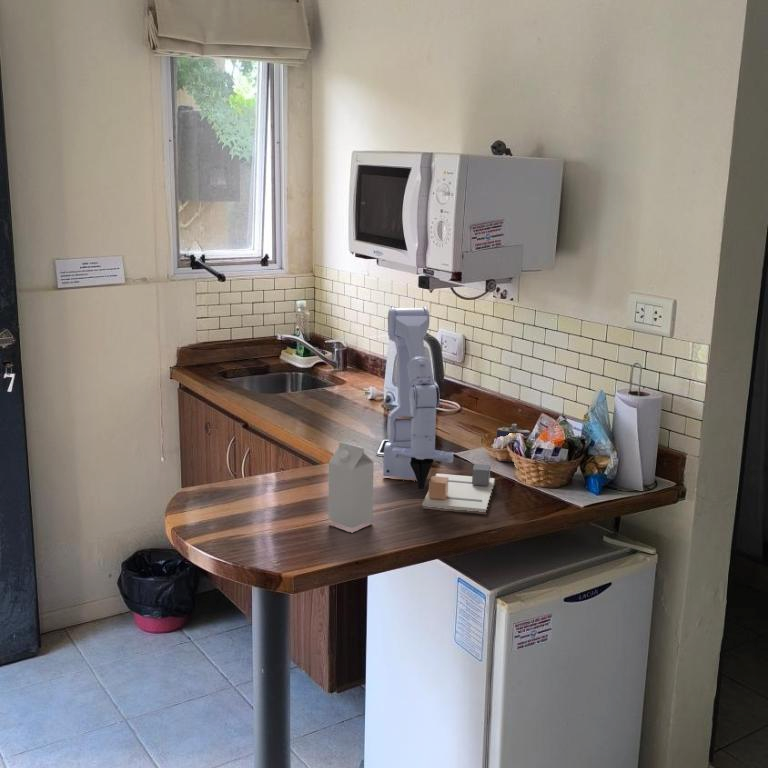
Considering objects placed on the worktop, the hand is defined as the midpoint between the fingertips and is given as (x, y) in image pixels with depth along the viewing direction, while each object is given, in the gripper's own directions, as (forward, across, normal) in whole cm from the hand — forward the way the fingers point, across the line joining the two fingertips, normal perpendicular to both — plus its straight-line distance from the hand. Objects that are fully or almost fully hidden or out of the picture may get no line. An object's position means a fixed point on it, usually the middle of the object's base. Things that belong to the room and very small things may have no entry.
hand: (421, 488), depth 221 cm
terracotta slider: (+2, +4, 0) cm, 4 cm away
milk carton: (+4, -13, -19) cm, 23 cm away
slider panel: (+3, +9, +6) cm, 11 cm away
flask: (+4, +19, +37) cm, 42 cm away
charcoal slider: (+2, +13, +12) cm, 18 cm away
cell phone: (+4, -15, +39) cm, 42 cm away
